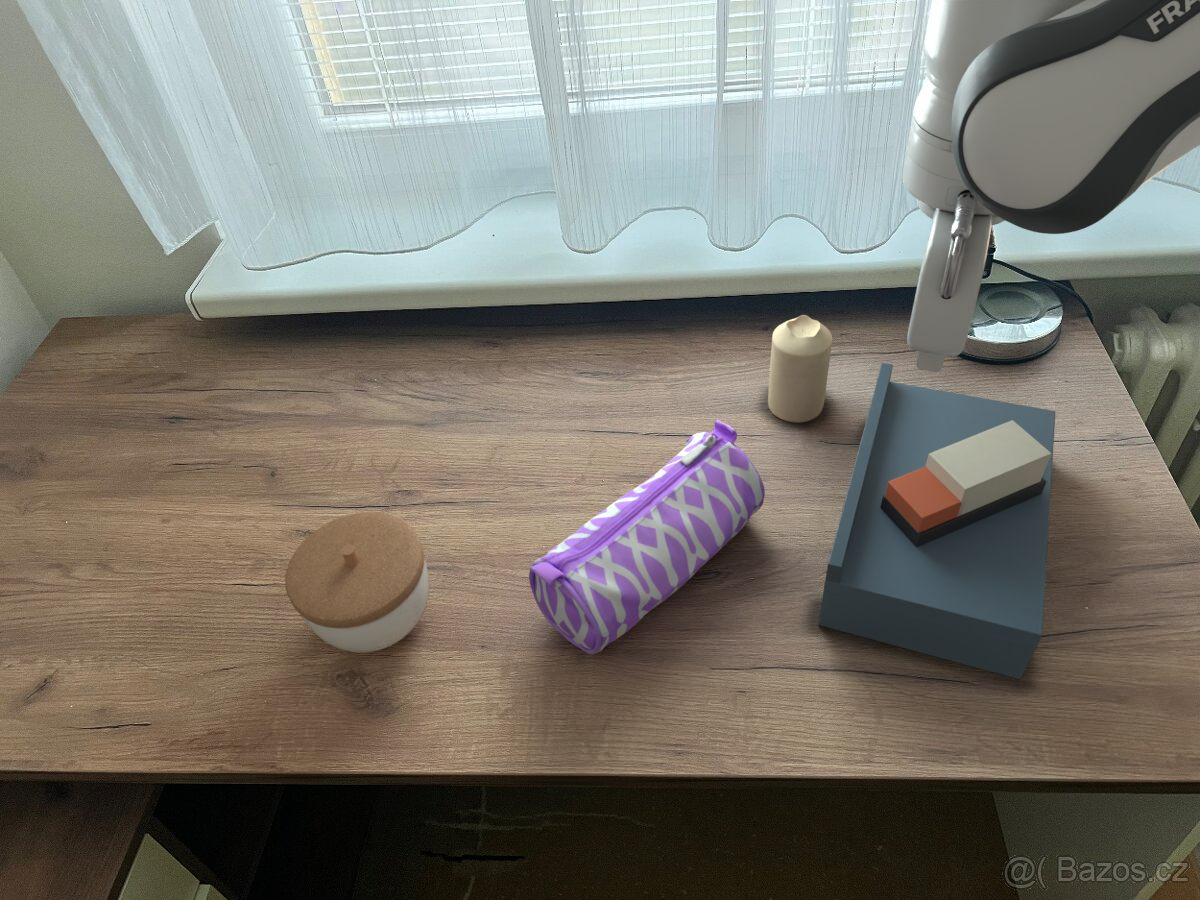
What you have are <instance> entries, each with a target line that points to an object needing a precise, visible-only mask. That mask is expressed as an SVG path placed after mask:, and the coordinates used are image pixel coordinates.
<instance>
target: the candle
mask: <svg viewBox="0 0 1200 900" xmlns="http://www.w3.org/2000/svg"><path fill="white" fill-rule="evenodd" d="M832 346H833V334H832V332H831V331H830V329H829V328H827V327H826V326H825V325H824V324H822V323H821V322H820V321H819V320H817V319H812V318H811V317H810V316H809V315H807V314H801V315H799V316H798V317H795V318H792V319H789V320H786V321H784V322H782V323H780V324H779V325H777V327H776V328H775V329H774V330H773V332H772V337H771V351H770V363H769V366H770V367H769V379H768V390H767V391H768V392H767V405H768V408H769V410H770V412H771V413H772V414H773V415H774V416H775V417H777V418H779V419H780V420H783V421H785V422H788V423H789V422H791V423H805V422H809V421H812V420H814V419H815V418H817V417H818V416H819V415H820V414H821V413H822V411H823V409H824V404H825V399H826V391H827V385H828V377H829V368H830V361H831V353H832Z"/></svg>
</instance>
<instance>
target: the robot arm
mask: <svg viewBox="0 0 1200 900" xmlns="http://www.w3.org/2000/svg"><path fill="white" fill-rule="evenodd" d="M924 53H925V61H926V73H925V78H924V81H923V85H922V87H921V89H920V91H919V93H918V95H917V96H916V100H915V103H914V106H913V109H912V110H913V111H912V115H911V123H910V128H909V134H908V139H907V146H906V150H905V151H906V152H905V157H904V164H903V169H902V175H901V176H902V183H903V186H904V188H905V189H906V190H907V192H908V193H909V194H910V195H911V196H912V197H914V199H917V200H916V203H917V206H918V208H919V209H920V211H921V212H922V213H923V214H924V215H925V216H926V217H928V218H929V219H931V224H930V227H929V232H928V236H927V239H926V240H927V241H926V245H925V249H924V253H923V257H922V262H921V266H920V270H919V271H920V272H919V277H918V280H917V286H916V290H915V294H914V295H915V296H914V300H913V305H912V311H911V314H910V320H909V325H908V330H907V334H906V342H907V343H906V344H907V346H908V348H909V349H911V350H913V351H917V352H918V354H917V359H916V368H918V369H919V370H921V371H926V372H932V373H938V372H941V371H942V369H943V366H944V362H945V358H946V357H957V356H959V355H961V353H962V352H963V351H964V349H965V346H966V344H967V340H968V337H969V333H970V329H971V324H972V320H973V317H974V312H975V308H976V306H977V301H978V297H979V292H980V289H981V285H982V280H983V276H984V272H985V267H986V262H987V257H988V251H989V245H990V237H991V232H992V226H996V225H999V224H1001V223H1003V222H1005V221H1006V222H1007V223H1009V224H1011V225H1014V226H1015V227H1018V228H1021V229H1023V230H1026V231H1029V232H1034V233H1039V234H1046V235H1047V234H1048V235H1061V234H1070V233H1073V232H1078V231H1081V230H1084V229H1086V228H1088V227H1090V226H1093V225H1095V224H1096V223H1099V222H1100V221H1102V220H1103V219H1104V218H1106V217H1107V216H1108V215H1109V214H1110V213H1111V212H1113V211H1114V210H1115V209H1117V208H1118V207H1119V206H1120V205H1121V204H1122V203H1124V202H1125V201H1126V200H1128V198H1130V197H1131V196H1132V195H1133V194H1135V193H1136V192H1137V190H1138V189H1139V188H1140V187H1142V186H1143V185H1144V184H1146V183H1147V182H1148V181H1150V180H1151V179H1153V178H1154V177H1155V176H1157V175H1159V174H1161V172H1163V171H1164V170H1166V169H1167V168H1168V167H1170V166H1172V165H1173V164H1175V162H1177V161H1179V160H1180V159H1182V158H1183V157H1184V156H1185V155H1187V154H1188V153H1190V152H1191V151H1193V150H1194V149H1196V148H1198V147H1199V146H1200V0H931V6H930V11H929V16H928V21H927V27H926V33H925V40H924Z"/></svg>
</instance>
